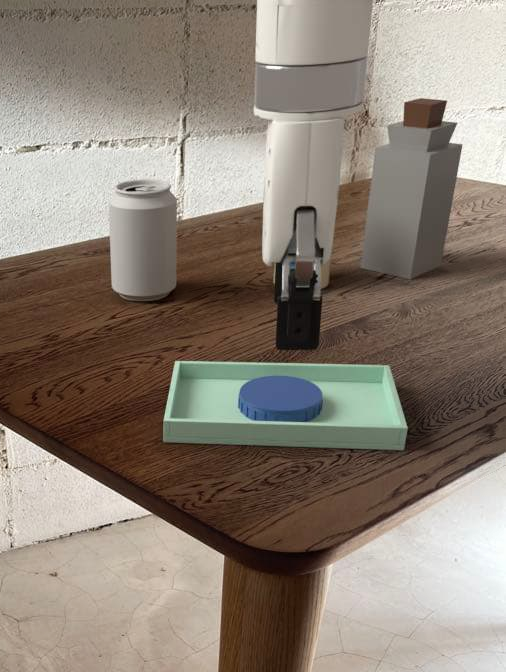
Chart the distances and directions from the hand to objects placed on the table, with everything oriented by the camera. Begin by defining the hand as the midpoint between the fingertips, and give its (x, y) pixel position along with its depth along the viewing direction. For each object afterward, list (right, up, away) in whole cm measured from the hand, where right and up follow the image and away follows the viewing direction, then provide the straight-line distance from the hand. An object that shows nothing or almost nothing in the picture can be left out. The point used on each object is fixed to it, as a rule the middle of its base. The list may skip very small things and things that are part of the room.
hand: (294, 324), depth 70 cm
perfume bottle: (+20, +15, +35) cm, 43 cm away
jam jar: (+8, +13, +32) cm, 35 cm away
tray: (0, -7, +4) cm, 8 cm away
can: (-11, +11, +31) cm, 35 cm away
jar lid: (0, -5, +4) cm, 6 cm away
